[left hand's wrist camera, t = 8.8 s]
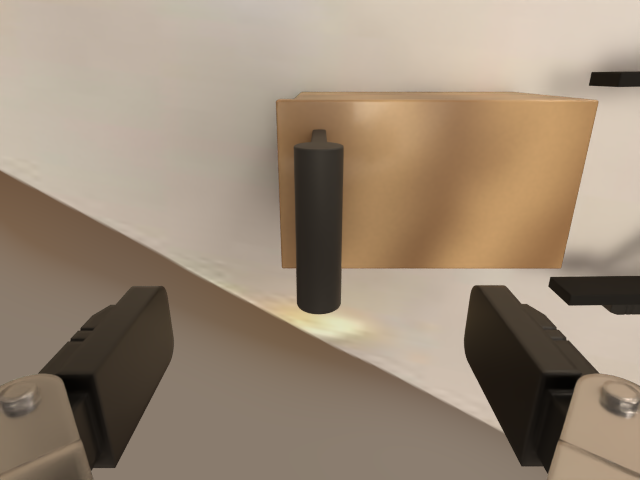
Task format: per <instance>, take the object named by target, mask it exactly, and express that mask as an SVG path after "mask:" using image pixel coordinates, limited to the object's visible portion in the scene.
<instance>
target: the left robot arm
mask: <svg viewBox="0 0 640 480" xmlns="http://www.w3.org/2000/svg"><path fill="white" fill-rule="evenodd" d="M173 347H174V338H173V331H172V324H171V317H170V310H169V303H168V297H167V292H166V290H165V288H164V287H163V286H133V287H131V288H130V289H129V290H128V291H127V293H126V294H125V295H124V296H123V297H122V298H121V299H120V300H119V302H118V303H117V304H116V305H110V306H108V307H106V308H105V309H103V310H101V311H100V312H98V313H96V314H94V315H93V316H92V317H91V318H90V319H89V320H88V321H87V322H86V323H85V324H84V325H83V326H82V327H81V330H80V331H77V333H76V334H75V335H74V336H73V337H72V338H71V341H70V342H67V343H66V344H65V345H64V346H63V347H62V349H61V350H60V351H59V352H58V353H57V354H56V355H55V356H54V357H53V358H52V359H51V360H50V361H49V362H48V363H47V364H46V366H45V367H44V368H43V369H42V370H41V371H40V372H39V373H38V374H33V375H28V376H24V377H20V378H17V379H15V380H12V381H9V382H7V383H5V384H3V385H1V386H0V480H93V476H92V473H91V470H92V469H93V468H115V467H116V465H117V463H118V461H119V459H120V457H121V456H122V454H123V452H124V450H125V448H126V446H127V444H128V442H129V440H130V438H131V436H132V434H133V432H134V431H135V429H136V427H137V425H138V423H139V421H140V419H141V417H142V415H143V413H144V411H145V409H146V407H147V406H148V404H149V402H150V400H151V398H152V396H153V394H154V392H155V390H156V388H157V386H158V384H159V382H160V380H161V379H162V377H163V375H164V373H165V371H166V369H167V367H168V365H169V363H170V361H171V358H172V354H173ZM464 348H465V354H466V358H467V361H468V363H469V365H470V367H471V369H472V371H473V373H474V375H475V377H476V378H477V380H478V382H479V384H480V386H481V388H482V390H483V392H484V394H485V396H486V398H487V400H488V402H489V404H490V406H491V408H492V410H493V412H494V414H495V415H496V417H497V419H498V421H499V423H500V425H501V427H502V429H503V431H504V433H505V435H506V437H507V439H508V441H509V443H510V445H511V447H512V448H513V451H514V452H515V454H516V456H517V458H518V460H519V462H520V464H521V466H544V468H545V470H546V471H547V473H548V476H547V480H640V386H639V385H637V384H635V383H633V382H631V381H628V380H625V379H623V378H620V377H616V376H612V375H607V374H599V372H598V371H597V370H596V369H595V368H594V367H593V366H592V365H591V364H590V363H589V362H588V361H587V360H586V359H585V357H584V356H583V355H582V354H581V353H580V352H579V351H578V350H577V349H576V348H575V347H574V346H573V345H572V343H571V342H570V341H567V340H566V337H565V336H564V335H563V334H562V333H561V332H560V331H559V330H557V329H556V326H555V325H554V324H553V323H552V322H551V321H550V320H549V319H548V318H547V317H546V316H545V315H544V314H543V313H541V312H539V311H537V310H536V309H534V308H532V307H531V306H529V305H527V304H521V303H520V302H519V301H518V299H517V298H516V297H515V296H514V295H513V294H512V293H511V291H510V290H509V289H508V288H507V287H506V286H503V285H476V286H474V287H473V288H472V290H471V294H470V301H469V308H468V314H467V321H466V328H465V335H464Z"/></svg>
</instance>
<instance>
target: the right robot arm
mask: <svg viewBox="0 0 640 480" xmlns="http://www.w3.org/2000/svg"><path fill="white" fill-rule="evenodd" d="M589 86H610V87H640V71H638V72H592V73H591V78H590V83H589ZM549 287H550V288H551V289H552V290H553V291H554V292H555V293H556V294H557V295H558V296H559V297H560V298H561V299H562V300H564V301H565V302H566V303H567V304H568V305H602V306H603V307H605V308H606V309H607V310H608V311H610V312H611V313H614V314H617V315H625V314H640V276H597V277H550V282H549Z"/></svg>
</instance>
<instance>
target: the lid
mask: <svg viewBox="0 0 640 480" xmlns="http://www.w3.org/2000/svg"><path fill="white" fill-rule="evenodd" d="M597 106H598V100H591V99H278V100H277V101H276V116H277V144H278V172H279V200H280V228H281V256H282V268H296V277H297V305H298V307H299V308H300V309H301V310H303V311H305V312H307V313H311V314H326V313H330V312H333V311H335V310H337V309H338V308H339V306H340V304H341V268H561V266H562V262H563V257H564V253H565V248H566V244H567V239H568V235H569V231H570V226H571V222H572V217H573V213H574V208H575V204H576V199H577V195H578V191H579V186H580V182H581V177H582V173H583V168H584V164H585V159H586V155H587V151H588V146H589V142H590V137H591V133H592V128H593V124H594V120H595V115H596V111H597Z"/></svg>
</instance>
